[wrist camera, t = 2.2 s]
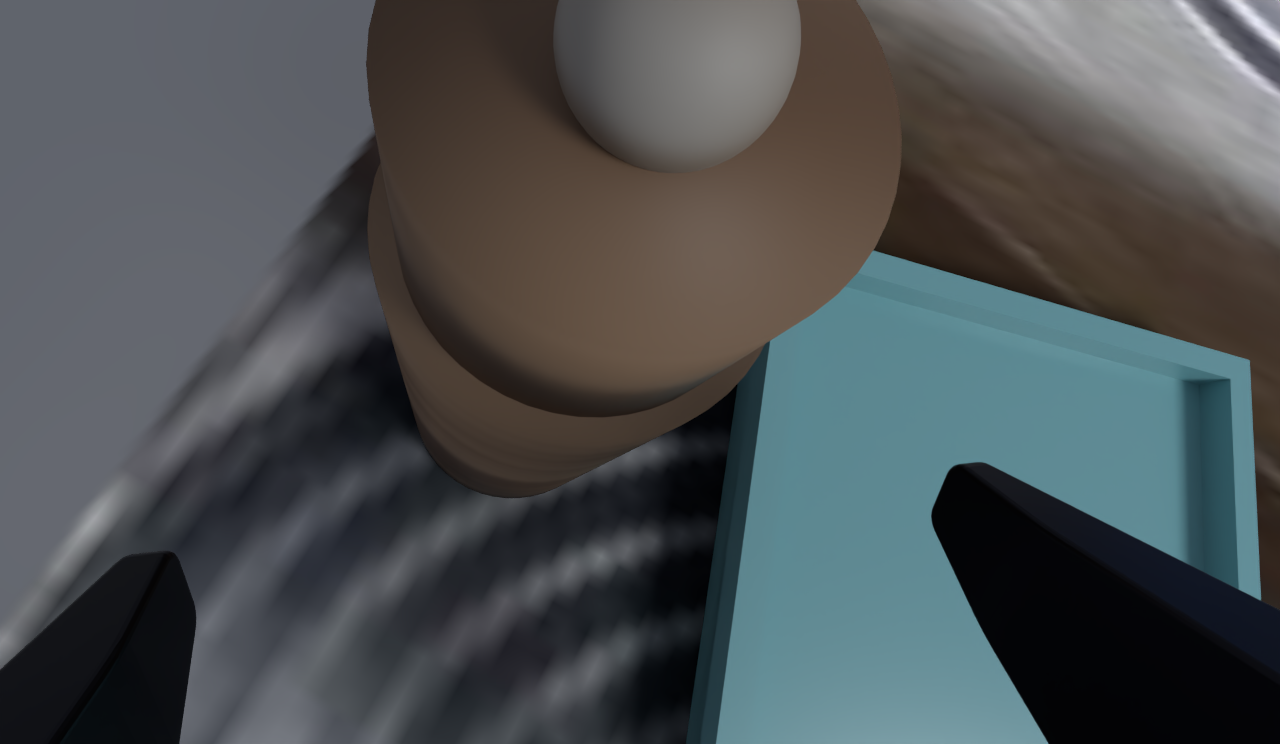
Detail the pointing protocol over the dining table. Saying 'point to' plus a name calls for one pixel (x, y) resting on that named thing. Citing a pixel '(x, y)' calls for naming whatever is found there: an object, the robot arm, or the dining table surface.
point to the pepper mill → (611, 210)
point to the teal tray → (910, 482)
